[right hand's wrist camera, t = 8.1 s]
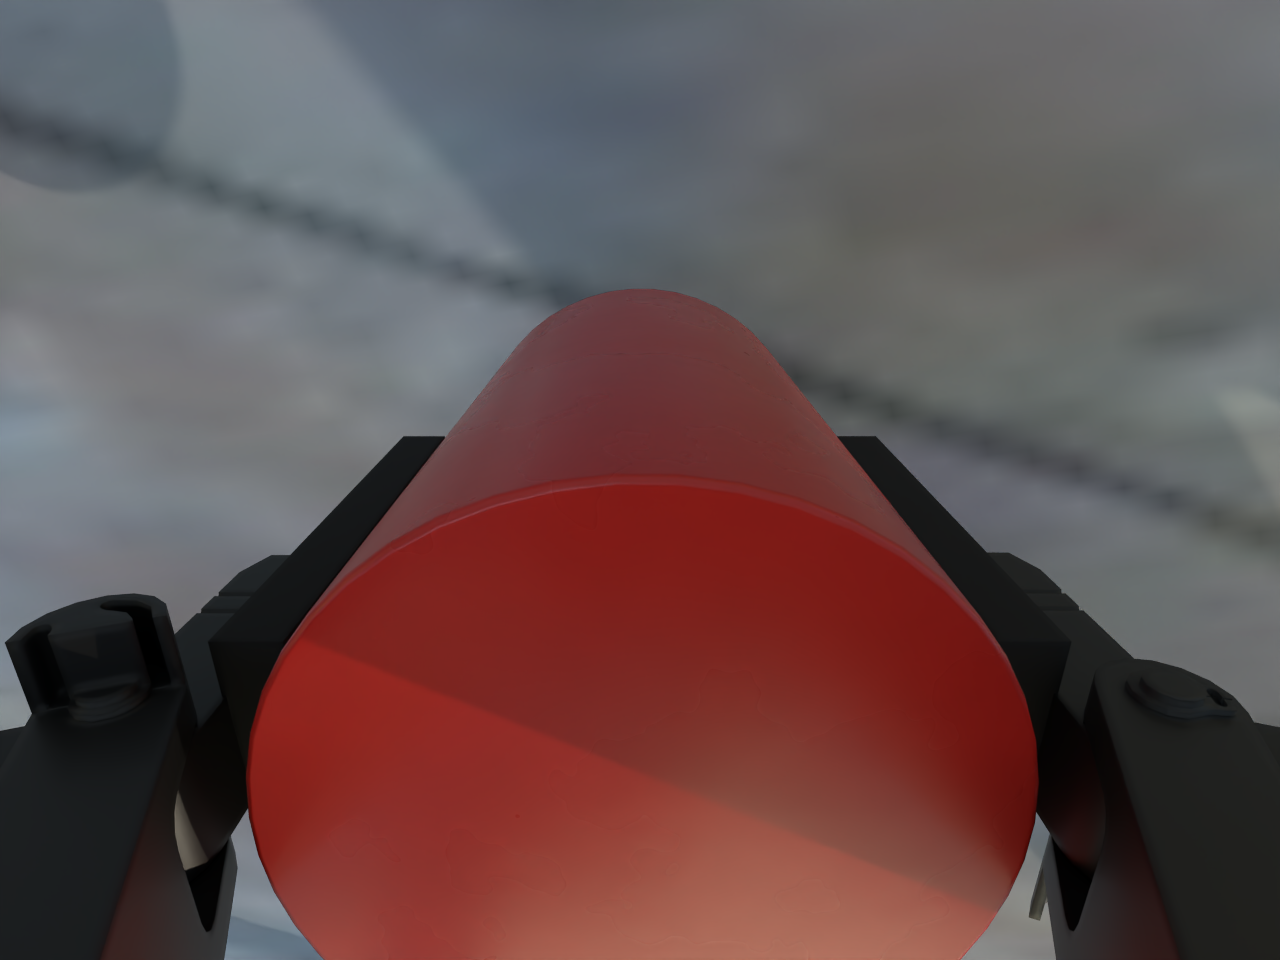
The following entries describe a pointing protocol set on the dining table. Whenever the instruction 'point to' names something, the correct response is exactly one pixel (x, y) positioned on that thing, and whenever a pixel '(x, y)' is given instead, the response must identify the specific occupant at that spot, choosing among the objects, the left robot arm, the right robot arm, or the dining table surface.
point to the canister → (642, 684)
